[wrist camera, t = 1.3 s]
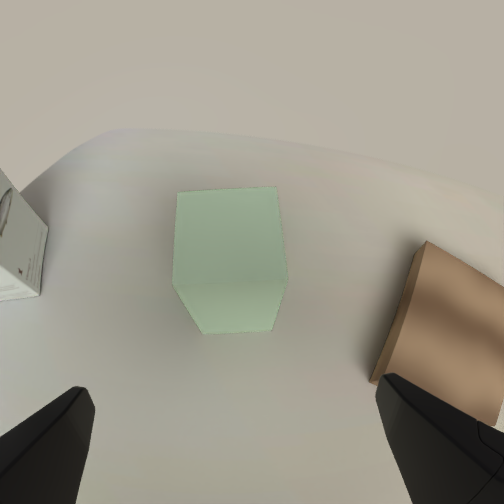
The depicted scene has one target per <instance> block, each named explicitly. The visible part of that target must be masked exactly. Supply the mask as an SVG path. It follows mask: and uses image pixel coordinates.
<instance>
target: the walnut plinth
mask: <svg viewBox="0 0 504 504" xmlns="http://www.w3.org/2000/svg"><path fill="white" fill-rule="evenodd" d="M391 372H394V373H396V374H398V375H400V376H401V377H403V378H405V379H406V380H408V381H410V382H412V383H413V384H415V385H417V386H419V387H420V388H422V389H424V390H426V391H427V392H429V393H431V394H433V395H434V396H436V397H438V398H440V399H441V400H443V401H445V402H447V403H449V404H450V405H452V406H454V407H456V408H457V409H459V410H461V411H463V412H465V413H466V414H468V415H470V416H472V417H474V418H476V419H477V420H479V421H481V422H483V423H485V424H487V425H489V426H495V425H496V422H497V419H498V415H499V412H500V409H501V405H502V402H503V398H504V287H503V286H501V285H499V284H498V283H496V282H495V281H493V280H492V279H490V278H489V277H487V276H485V275H484V274H482V273H481V272H479V271H477V270H476V269H474V268H473V267H471V266H469V265H468V264H466V263H464V262H463V261H461V260H459V259H458V258H456V257H454V256H453V255H451V254H449V253H447V252H446V251H444V250H442V249H441V248H439V247H437V246H435V245H434V244H432V243H430V242H428V241H426V242H425V243H424V244H423V246H422V247H421V248H420V249H419V250H418V251H417V252H416V253H415V254H414V257H413V261H412V264H411V268H410V271H409V275H408V278H407V281H406V284H405V288H404V291H403V294H402V297H401V300H400V303H399V306H398V309H397V312H396V315H395V318H394V321H393V323H392V326H391V329H390V332H389V334H388V337H387V340H386V342H385V345H384V347H383V350H382V352H381V355H380V357H379V360H378V362H377V365H376V367H375V369H374V372H373V374H372V376H371V379H370V381H369V382H370V383H372V384H374V385H376V386H378V383H379V379H380V376H381V375H382V374H386V373H391Z"/></svg>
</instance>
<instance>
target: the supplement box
mask: <svg viewBox="0 0 504 504" xmlns="http://www.w3.org/2000/svg"><path fill="white" fill-rule="evenodd" d="M47 233H48V227H47V226H46V224H45V223H44V222H43V221H42V220H41V219H40V218H39V216H38V215H37V214H36V213H35V212H34V210H33V209H32V208H31V207H30V206H29V204H28V203H27V202H26V201H25V200H24V198H23V197H22V196H21V195H20V193H19V192H18V191H17V190H16V188H15V187H14V186H13V185H12V183H11V182H10V181H9V179H8V178H7V177H6V175H5V174H4V173H3V172H2V170H1V169H0V301H2V300H11V299H20V298H28V297H35V296H39V295H40V281H41V270H42V262H43V256H44V250H45V243H46V238H47Z"/></svg>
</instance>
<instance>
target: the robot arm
mask: <svg viewBox="0 0 504 504" xmlns="http://www.w3.org/2000/svg"><path fill="white" fill-rule="evenodd" d="M375 397H376V402H377V406H378V409H379V413H380V416H381V420H382V423H383V427H384V430H385V434H386V437H387V440H388V443H389V445H390V448H391V450H392V453H393V455H394V458H395V460H396V462H397V465H398V467H399V470H400V472H401V475H402V478H403V480H404V483H405V485H406V488H407V490H408V493H409V496H410V498H411V501H412V503H413V504H504V433H503V432H501V431H499V430H497V429H495V428H493V427H491V426H489V425H487V424H485V423H483V422H481V421H479V420H477V419H476V418H474V417H472V416H470V415H468V414H466V413H465V412H463V411H461V410H459V409H457V408H456V407H454V406H452V405H450V404H449V403H447V402H445V401H443V400H441V399H440V398H438V397H436V396H434V395H433V394H431V393H429V392H427V391H426V390H424V389H422V388H420V387H419V386H417V385H415V384H413V383H412V382H410V381H408V380H406V379H405V378H403V377H401V376H400V375H398V374H396V373H394V372H391V373H386V374H382V375H381V376H380V379H379V383H378V386H377V390H376V395H375ZM94 416H95V406H94V404H93V401H92V399H91V397H90V395H89V392H88V390H87V389H86V388H84V387H78V386H74V387H72V388H71V389H69V390H68V391H66V392H65V393H63V394H62V395H61V396H59V397H58V398H56V399H55V400H53V401H52V402H50V403H49V404H48V405H46V406H45V407H43V408H42V409H40V410H39V411H37V412H36V413H34V414H33V415H32V416H30V417H29V418H27V419H26V420H24V421H23V422H21V423H20V424H18V425H17V426H16V427H14V428H13V429H11V430H10V431H8V432H7V433H5V434H4V435H2V436H1V437H0V504H75V503H76V499H77V494H78V490H79V486H80V482H81V478H82V474H83V470H84V466H85V462H86V459H87V455H88V451H89V445H90V439H91V433H92V427H93V421H94Z"/></svg>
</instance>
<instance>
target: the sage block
mask: <svg viewBox="0 0 504 504" xmlns="http://www.w3.org/2000/svg"><path fill="white" fill-rule="evenodd" d="M287 282H288V271H287V263H286V255H285V247H284V240H283V232H282V224H281V217H280V210H279V202H278V195H277V188H276V187H253V188H232V189H215V190H199V191H186V192H178V194H177V206H176V220H175V235H174V252H173V275H172V286H173V287H174V289H175V291H176V292H177V294H178V296H179V297H180V299H181V300H182V302H183V304H184V305H185V307H186V309H187V310H188V312H189V313H190V315H191V317H192V318H193V320H194V321H195V323H196V325H197V326H198V328H199V329H200V331H201V332H202V334H226V333H245V332H261V331H272V328H273V325H274V322H275V319H276V316H277V313H278V310H279V307H280V304H281V301H282V298H283V294H284V291H285V288H286V285H287Z"/></svg>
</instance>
